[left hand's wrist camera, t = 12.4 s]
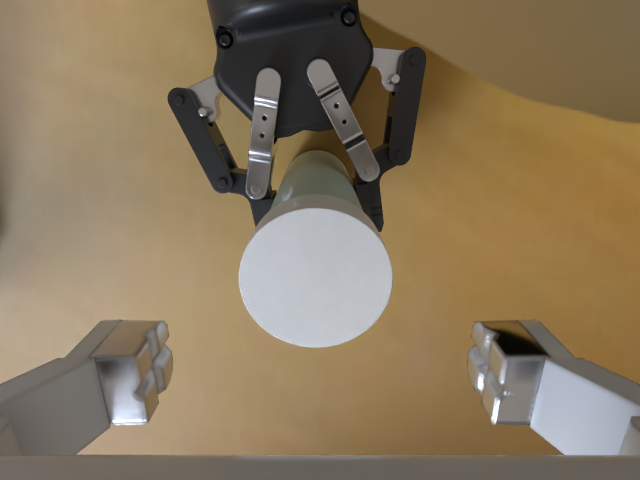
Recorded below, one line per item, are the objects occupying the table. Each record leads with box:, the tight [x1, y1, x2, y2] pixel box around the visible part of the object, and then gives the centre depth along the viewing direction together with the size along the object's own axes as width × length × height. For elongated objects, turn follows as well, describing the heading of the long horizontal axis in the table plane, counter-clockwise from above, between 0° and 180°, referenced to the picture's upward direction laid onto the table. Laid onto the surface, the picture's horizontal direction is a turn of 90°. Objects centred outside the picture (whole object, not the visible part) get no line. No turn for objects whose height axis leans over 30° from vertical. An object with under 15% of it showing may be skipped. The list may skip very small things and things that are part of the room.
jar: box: [270, 150, 363, 211], centre depth 22 cm, size 5×5×17 cm
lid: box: [239, 194, 393, 347], centre depth 15 cm, size 5×5×2 cm
